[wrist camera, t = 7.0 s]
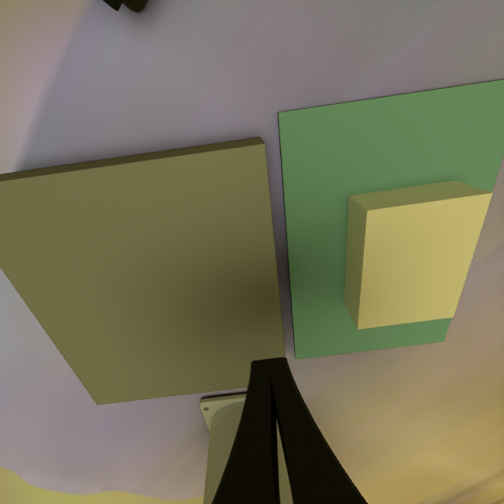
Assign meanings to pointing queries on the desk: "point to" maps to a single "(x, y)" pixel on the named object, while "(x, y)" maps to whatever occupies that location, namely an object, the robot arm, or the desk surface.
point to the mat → (373, 180)
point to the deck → (149, 267)
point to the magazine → (134, 3)
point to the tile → (410, 251)
